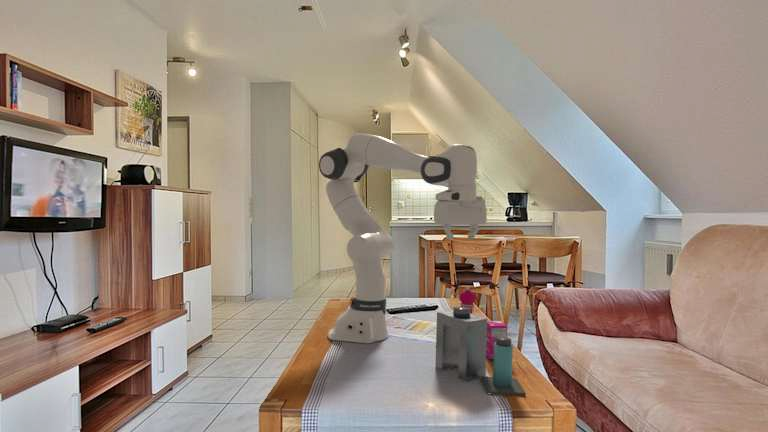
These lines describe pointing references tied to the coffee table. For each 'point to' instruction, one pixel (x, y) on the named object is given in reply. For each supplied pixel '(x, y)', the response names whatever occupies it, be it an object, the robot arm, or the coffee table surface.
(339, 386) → the coffee table surface
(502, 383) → the teal cylindrical piece
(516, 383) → the mat
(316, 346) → the coffee table surface
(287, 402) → the coffee table surface
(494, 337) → the supplement box
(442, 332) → the housing
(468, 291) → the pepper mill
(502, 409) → the coffee table surface
